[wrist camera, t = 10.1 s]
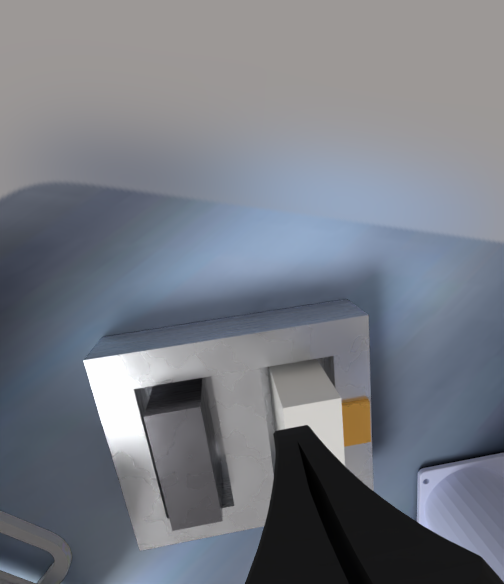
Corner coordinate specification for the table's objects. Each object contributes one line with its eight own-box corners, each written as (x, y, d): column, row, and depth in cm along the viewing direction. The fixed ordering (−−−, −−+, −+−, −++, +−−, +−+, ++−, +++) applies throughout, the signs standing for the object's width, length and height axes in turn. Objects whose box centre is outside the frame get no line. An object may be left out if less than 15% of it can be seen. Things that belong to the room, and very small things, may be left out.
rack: (355, 468, 26) (385, 525, 22) (148, 507, 25) (134, 577, 21) (347, 298, 22) (381, 325, 18) (102, 336, 21) (71, 375, 17)
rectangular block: (319, 449, 24) (348, 519, 19) (278, 457, 24) (296, 529, 19) (311, 350, 22) (341, 398, 17) (266, 357, 22) (282, 408, 17)
